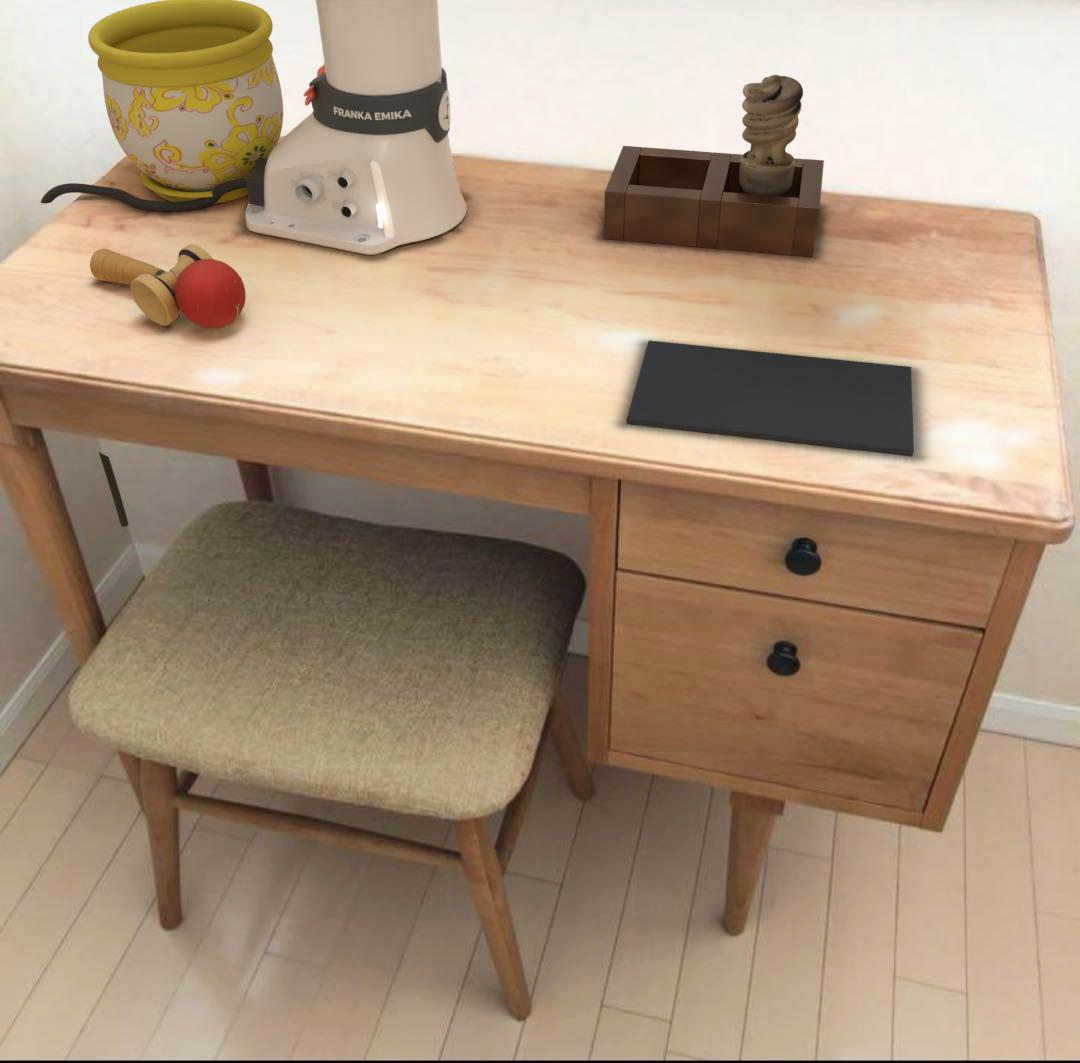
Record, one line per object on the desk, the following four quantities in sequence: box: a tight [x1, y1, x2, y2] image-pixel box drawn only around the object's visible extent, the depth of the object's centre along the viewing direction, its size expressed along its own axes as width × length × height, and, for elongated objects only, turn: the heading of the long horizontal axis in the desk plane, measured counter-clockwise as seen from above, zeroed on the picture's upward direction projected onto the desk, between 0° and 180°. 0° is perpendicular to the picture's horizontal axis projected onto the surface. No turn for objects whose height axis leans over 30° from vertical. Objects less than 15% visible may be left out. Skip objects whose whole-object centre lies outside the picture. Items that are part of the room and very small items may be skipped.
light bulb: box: [739, 74, 804, 197], centre depth 117 cm, size 6×6×15 cm
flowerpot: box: [87, 0, 284, 205], centre depth 127 cm, size 18×18×16 cm
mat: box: [626, 340, 915, 456], centre depth 99 cm, size 22×12×1 cm, turn 78°
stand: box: [603, 145, 825, 258], centre depth 121 cm, size 20×11×5 cm, turn 78°
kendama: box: [89, 243, 247, 329], centre depth 110 cm, size 8×6×18 cm
